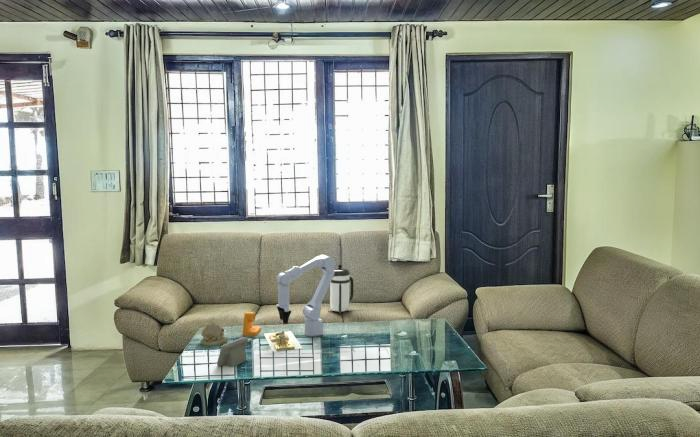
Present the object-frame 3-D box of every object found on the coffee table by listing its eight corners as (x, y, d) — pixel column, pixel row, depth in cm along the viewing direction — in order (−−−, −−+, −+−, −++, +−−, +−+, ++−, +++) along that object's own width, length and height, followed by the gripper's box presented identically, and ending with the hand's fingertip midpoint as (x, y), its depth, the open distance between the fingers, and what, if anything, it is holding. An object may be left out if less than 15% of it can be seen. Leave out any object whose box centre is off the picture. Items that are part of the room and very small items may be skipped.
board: (291, 332, 282) (291, 331, 282) (302, 349, 256) (302, 348, 256) (263, 335, 278) (263, 333, 278) (272, 352, 251) (272, 351, 251)
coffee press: (353, 315, 317) (353, 267, 314) (327, 314, 317) (327, 266, 314) (353, 307, 334) (353, 261, 331) (328, 307, 334) (328, 261, 331)
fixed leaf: (289, 340, 267) (289, 334, 266) (294, 348, 255) (294, 341, 255) (272, 342, 264) (272, 335, 264) (276, 350, 252) (276, 343, 252)
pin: (283, 342, 264) (284, 330, 264) (284, 343, 262) (284, 332, 261) (279, 342, 264) (279, 331, 263) (279, 344, 261) (279, 332, 261)
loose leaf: (286, 335, 275) (286, 327, 275) (288, 339, 268) (288, 332, 268) (269, 336, 272) (269, 329, 272) (271, 341, 265) (271, 333, 265)
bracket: (256, 337, 274) (255, 315, 273) (242, 336, 275) (242, 314, 274) (261, 331, 285) (261, 309, 284) (248, 330, 286) (248, 309, 284)
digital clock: (242, 355, 247) (242, 334, 246) (253, 360, 241) (253, 338, 240) (212, 364, 236) (212, 342, 235) (223, 370, 230) (223, 347, 228)
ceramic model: (196, 344, 262) (195, 325, 261) (206, 337, 273) (205, 319, 272) (222, 346, 260) (222, 327, 259) (231, 339, 271) (230, 320, 270)
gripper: (273, 293, 274) (273, 318, 275) (278, 300, 260) (279, 326, 261) (286, 292, 276) (286, 317, 277) (292, 299, 262) (292, 325, 264)
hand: (283, 321), depth 269 cm, fingers open, 7 cm apart
